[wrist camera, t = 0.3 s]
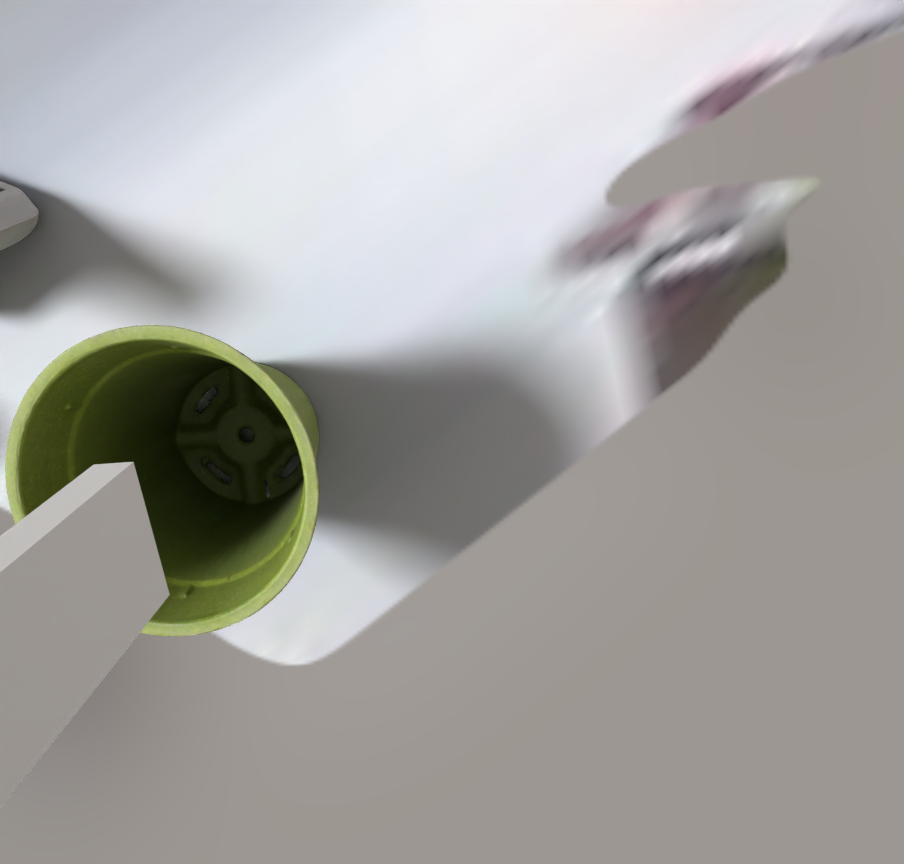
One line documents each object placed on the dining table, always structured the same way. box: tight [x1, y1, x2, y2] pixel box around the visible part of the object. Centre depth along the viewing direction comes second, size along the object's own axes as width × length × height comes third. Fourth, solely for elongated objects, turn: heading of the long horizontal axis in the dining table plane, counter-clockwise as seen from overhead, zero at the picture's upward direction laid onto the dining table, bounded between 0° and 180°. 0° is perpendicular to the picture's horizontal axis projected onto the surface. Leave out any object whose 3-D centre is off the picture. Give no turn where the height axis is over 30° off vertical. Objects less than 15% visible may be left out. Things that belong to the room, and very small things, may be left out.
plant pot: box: [5, 325, 319, 636], centre depth 36 cm, size 12×12×11 cm
